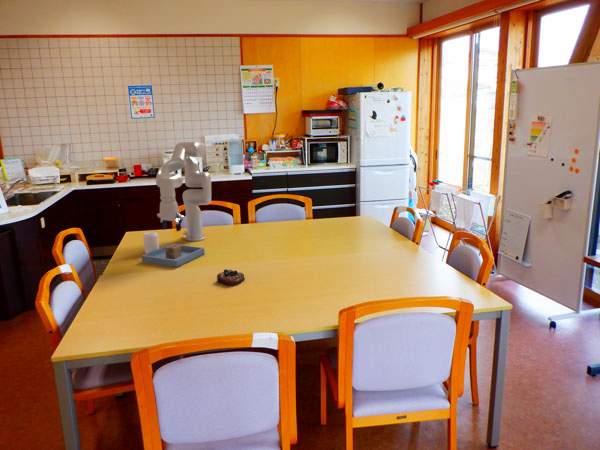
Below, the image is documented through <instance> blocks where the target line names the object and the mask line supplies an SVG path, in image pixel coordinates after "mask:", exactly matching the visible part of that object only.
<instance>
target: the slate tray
mask: <svg viewBox="0 0 600 450" xmlns="http://www.w3.org/2000/svg"><path fill="white" fill-rule="evenodd" d="M172 244H173V245H180V246H181V252H182V256H180V257H178V258H176V259H171V258H166V251H165V247H167V246H170V245H172ZM205 255H206V253H205V247H200V246H192V245H185V244H176V243H168V244H166V245H163V246H162V247H159V249H156V250H154V251H151V252H149V253H147V254H146V253H145V254H142V255H141V257H140V258H141V263H142V264H143V263H144V264H149V265H155V266H156V265H157V266H163V267H167V266H168V268H174V267H175V269H178V267H179V268H181V267H183V266H184V264H185V265H187V264H189V263H191V262H193V261H195V260H197V259H199V258H201V257H203V256H205ZM182 265H183V266H182ZM180 266H181V267H180Z"/></svg>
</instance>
